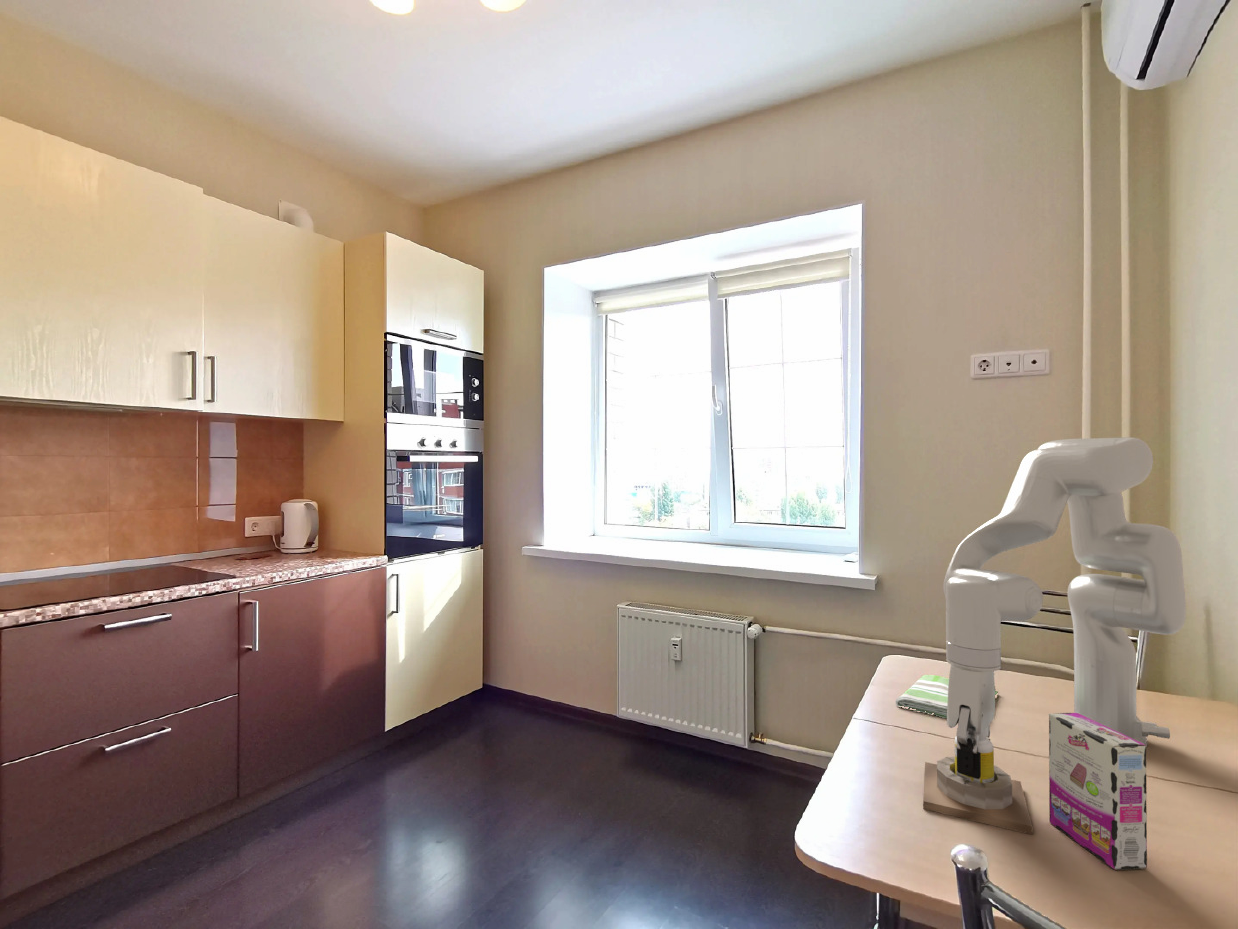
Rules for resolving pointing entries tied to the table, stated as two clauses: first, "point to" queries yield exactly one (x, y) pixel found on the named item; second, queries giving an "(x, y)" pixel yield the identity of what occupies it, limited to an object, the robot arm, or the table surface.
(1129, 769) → the candy bar box
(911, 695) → the dish towel
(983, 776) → the supplement bottle
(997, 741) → the table surface
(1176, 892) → the table surface
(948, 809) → the hub block
